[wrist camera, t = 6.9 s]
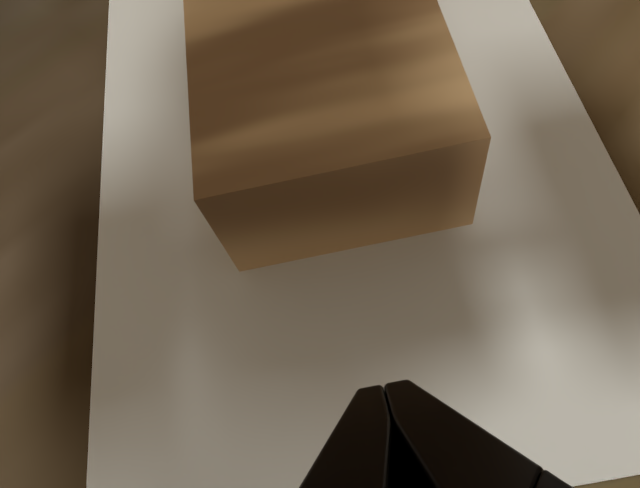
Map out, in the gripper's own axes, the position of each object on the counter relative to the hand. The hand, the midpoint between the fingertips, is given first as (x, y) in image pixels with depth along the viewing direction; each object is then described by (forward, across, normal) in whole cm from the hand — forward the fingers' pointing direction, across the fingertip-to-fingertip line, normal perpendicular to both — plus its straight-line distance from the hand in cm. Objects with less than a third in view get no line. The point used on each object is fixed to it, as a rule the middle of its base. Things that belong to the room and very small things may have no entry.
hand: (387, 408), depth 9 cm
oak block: (+6, 0, -2) cm, 6 cm away
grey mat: (+11, 0, -3) cm, 11 cm away
